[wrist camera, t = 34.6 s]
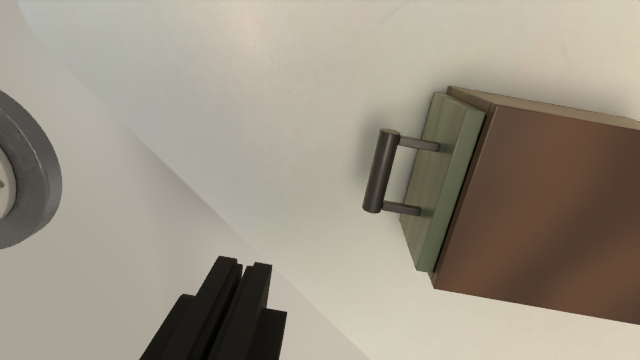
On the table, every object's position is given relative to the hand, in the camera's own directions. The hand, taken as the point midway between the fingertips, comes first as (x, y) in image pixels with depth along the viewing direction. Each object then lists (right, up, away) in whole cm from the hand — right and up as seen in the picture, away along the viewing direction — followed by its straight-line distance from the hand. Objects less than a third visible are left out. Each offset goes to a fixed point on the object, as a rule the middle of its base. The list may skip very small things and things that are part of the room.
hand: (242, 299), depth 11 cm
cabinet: (+19, +4, +20) cm, 28 cm away
